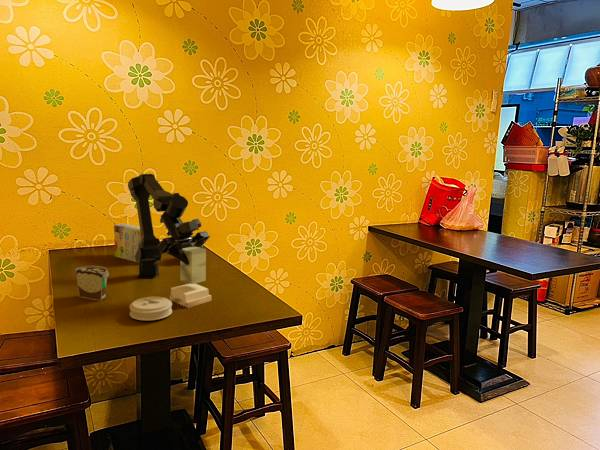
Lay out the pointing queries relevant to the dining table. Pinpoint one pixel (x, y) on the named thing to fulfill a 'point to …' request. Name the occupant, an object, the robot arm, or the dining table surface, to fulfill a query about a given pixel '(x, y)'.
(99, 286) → the food container
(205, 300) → the tower base slab
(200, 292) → the tower top slab
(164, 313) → the lid
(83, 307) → the dining table surface
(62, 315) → the dining table surface
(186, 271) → the pillar block
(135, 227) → the snack box
